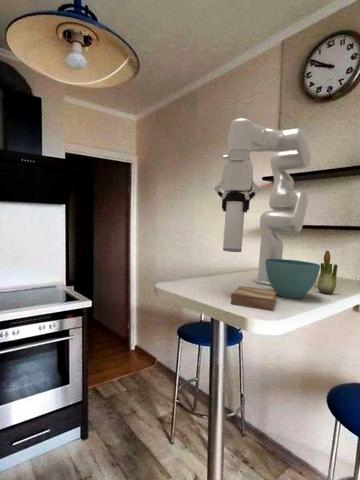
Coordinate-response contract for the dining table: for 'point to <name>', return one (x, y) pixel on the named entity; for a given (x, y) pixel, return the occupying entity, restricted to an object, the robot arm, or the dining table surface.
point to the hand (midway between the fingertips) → (235, 211)
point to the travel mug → (234, 222)
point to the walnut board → (254, 298)
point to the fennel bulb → (327, 278)
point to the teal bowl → (291, 276)
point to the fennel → (325, 261)
